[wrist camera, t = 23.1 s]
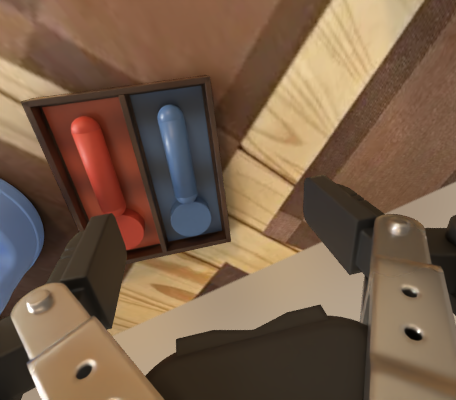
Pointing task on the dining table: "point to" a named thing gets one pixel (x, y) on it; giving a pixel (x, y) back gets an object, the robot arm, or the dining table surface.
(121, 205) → the red disc-ended rod
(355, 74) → the dining table surface
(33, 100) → the sorting tray
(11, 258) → the water jug
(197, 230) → the blue round-ended rod
